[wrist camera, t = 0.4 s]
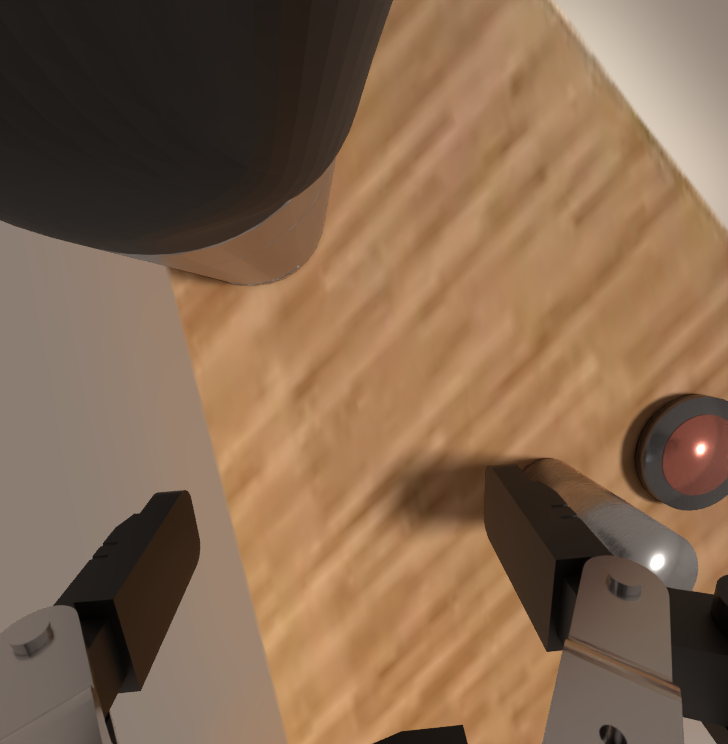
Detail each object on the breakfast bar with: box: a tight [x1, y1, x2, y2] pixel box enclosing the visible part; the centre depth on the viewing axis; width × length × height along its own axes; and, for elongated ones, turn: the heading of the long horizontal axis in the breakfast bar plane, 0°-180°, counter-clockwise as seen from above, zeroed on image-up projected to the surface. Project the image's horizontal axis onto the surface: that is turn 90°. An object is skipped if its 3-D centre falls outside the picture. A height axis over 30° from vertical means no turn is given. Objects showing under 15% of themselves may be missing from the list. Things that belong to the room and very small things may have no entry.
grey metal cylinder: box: [523, 459, 698, 591], centre depth 26 cm, size 5×5×10 cm
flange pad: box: [636, 394, 728, 510], centre depth 32 cm, size 9×9×1 cm
